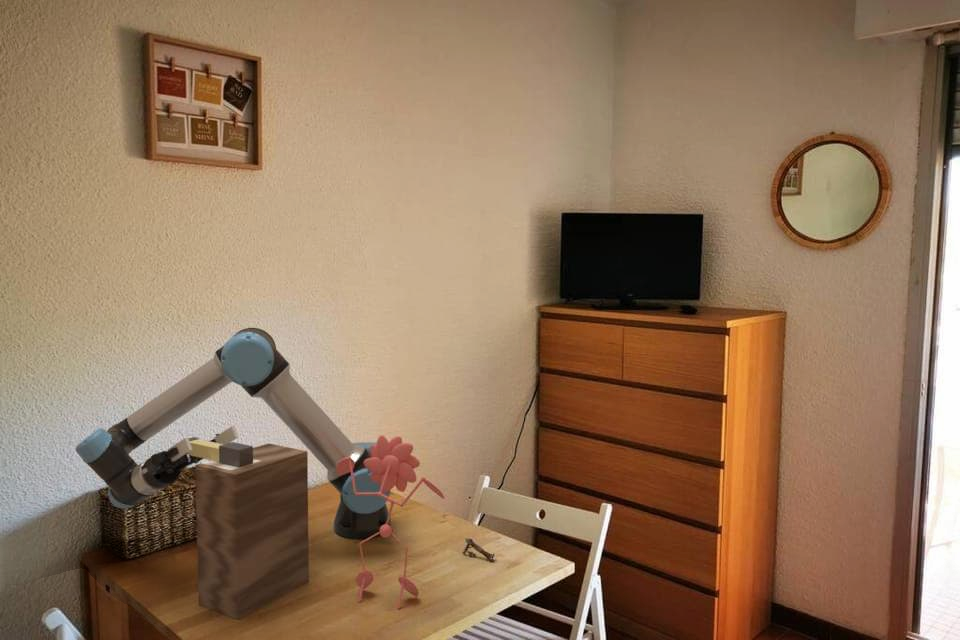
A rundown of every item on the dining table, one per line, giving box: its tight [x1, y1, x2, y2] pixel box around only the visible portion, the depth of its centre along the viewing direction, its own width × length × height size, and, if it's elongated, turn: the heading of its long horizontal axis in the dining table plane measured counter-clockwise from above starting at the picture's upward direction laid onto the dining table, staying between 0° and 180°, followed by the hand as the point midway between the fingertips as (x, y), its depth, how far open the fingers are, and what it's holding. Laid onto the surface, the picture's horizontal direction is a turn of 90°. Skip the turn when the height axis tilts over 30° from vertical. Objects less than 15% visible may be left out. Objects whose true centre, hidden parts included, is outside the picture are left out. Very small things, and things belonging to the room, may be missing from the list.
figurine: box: [336, 434, 445, 614], centre depth 160 cm, size 15×26×35 cm, turn 72°
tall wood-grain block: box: [194, 443, 310, 620], centre depth 158 cm, size 12×20×30 cm, turn 149°
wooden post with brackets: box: [462, 538, 496, 561], centre depth 179 cm, size 2×8×4 cm, turn 64°
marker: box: [186, 436, 254, 468], centre depth 155 cm, size 18×4×4 cm, turn 59°
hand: (212, 437), depth 155 cm, fingers open, 11 cm apart
